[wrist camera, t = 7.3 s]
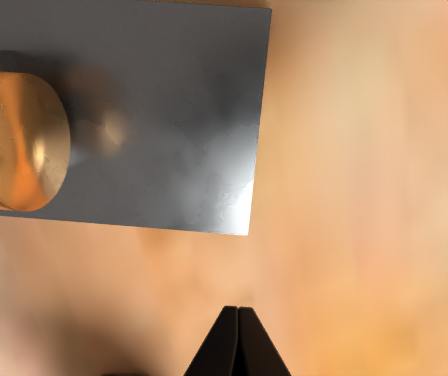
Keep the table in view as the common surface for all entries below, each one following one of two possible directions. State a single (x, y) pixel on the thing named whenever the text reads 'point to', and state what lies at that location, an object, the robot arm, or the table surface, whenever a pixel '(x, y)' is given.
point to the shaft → (31, 142)
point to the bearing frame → (148, 107)
